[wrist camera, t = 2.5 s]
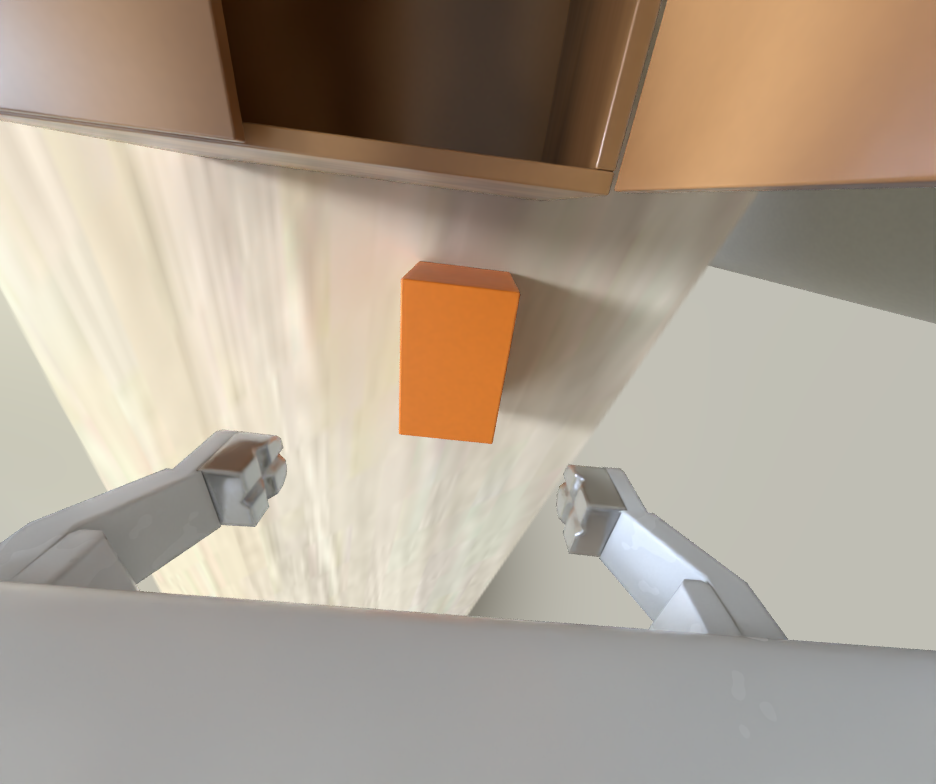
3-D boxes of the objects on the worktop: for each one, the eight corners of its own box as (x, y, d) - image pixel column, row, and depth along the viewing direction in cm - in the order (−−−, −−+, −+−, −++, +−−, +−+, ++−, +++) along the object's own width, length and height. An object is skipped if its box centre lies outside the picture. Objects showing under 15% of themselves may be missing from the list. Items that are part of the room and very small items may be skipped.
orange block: (510, 272, 18) (520, 292, 14) (489, 397, 22) (492, 444, 18) (419, 260, 18) (400, 278, 14) (413, 389, 22) (398, 434, 18)
